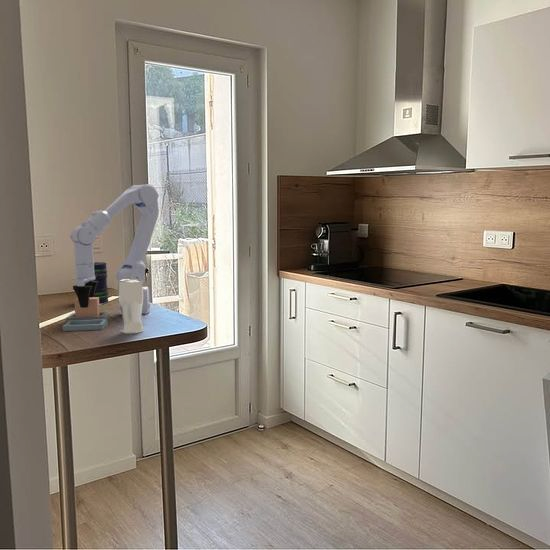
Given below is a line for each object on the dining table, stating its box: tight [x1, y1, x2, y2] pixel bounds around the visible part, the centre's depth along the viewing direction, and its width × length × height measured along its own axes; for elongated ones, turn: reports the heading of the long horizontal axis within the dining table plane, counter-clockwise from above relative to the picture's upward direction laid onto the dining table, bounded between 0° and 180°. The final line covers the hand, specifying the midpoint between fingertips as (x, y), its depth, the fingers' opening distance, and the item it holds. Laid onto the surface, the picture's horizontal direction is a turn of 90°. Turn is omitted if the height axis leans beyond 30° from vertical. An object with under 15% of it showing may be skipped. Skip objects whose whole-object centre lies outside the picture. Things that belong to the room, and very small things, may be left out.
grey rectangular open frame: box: [65, 311, 109, 323], centre depth 181 cm, size 12×8×2 cm
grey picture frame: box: [62, 318, 109, 332], centre depth 169 cm, size 12×8×2 cm
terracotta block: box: [73, 297, 101, 317], centre depth 181 cm, size 7×4×7 cm, turn 97°
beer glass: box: [117, 279, 144, 335], centre depth 161 cm, size 7×7×15 cm
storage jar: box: [93, 261, 109, 305], centre depth 213 cm, size 10×10×15 cm
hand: (86, 305), depth 181 cm, fingers open, 7 cm apart
